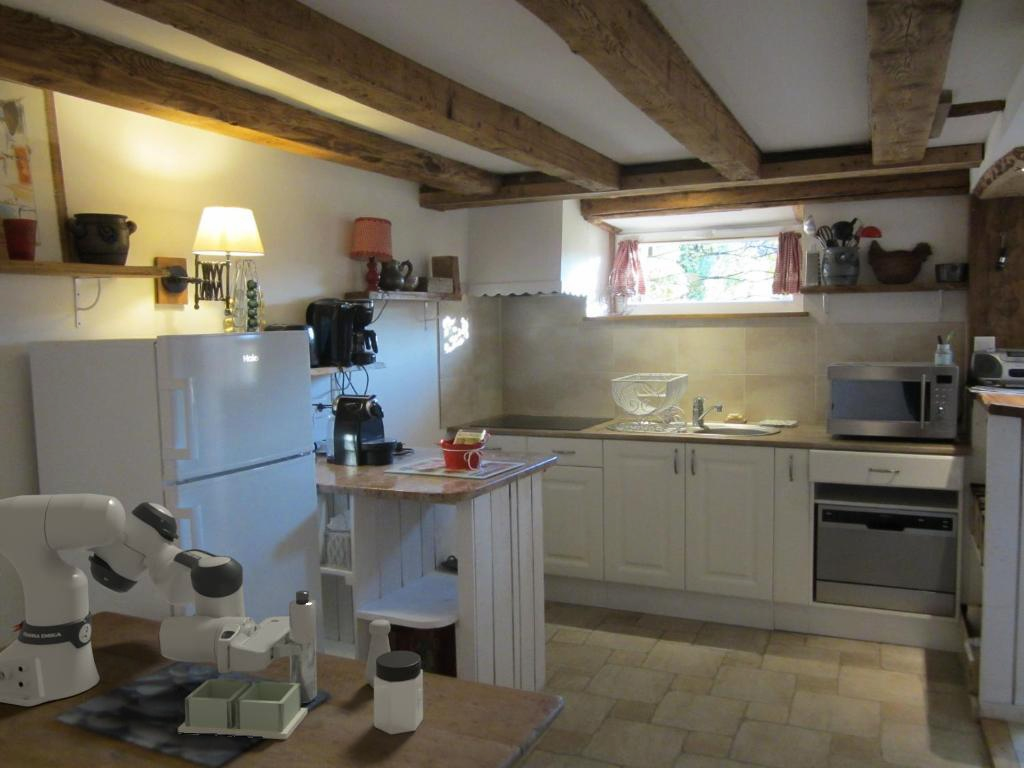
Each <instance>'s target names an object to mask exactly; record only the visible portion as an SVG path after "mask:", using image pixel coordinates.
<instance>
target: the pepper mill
mask: <svg viewBox="0 0 1024 768" xmlns="http://www.w3.org/2000/svg"><path fill="white" fill-rule="evenodd" d="M316 603H317V601H316V600H315V599H313V598H310V591H309V590H298V591H296V592H295V599H294V600H291V601H289V602H288V604H289V605H288V614H289V615H288V616H289V631H290V645H292V644H293V643H297V644H299V643H301V644H302V646H303V647H302V649H303V651H302V652H301V653H300V654H299V655H290V656H289V683H300V686H301V702H304V701H305V702H306V701H309V700H312V699H313V698H315V697H316V696H317V695H318V687H317V686H318V685H317V682H318V679H317V676H318V674H317V672H318V671H317V670H318V669H317V664H318V663H317V604H316ZM317 697H318V696H317Z"/></svg>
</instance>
